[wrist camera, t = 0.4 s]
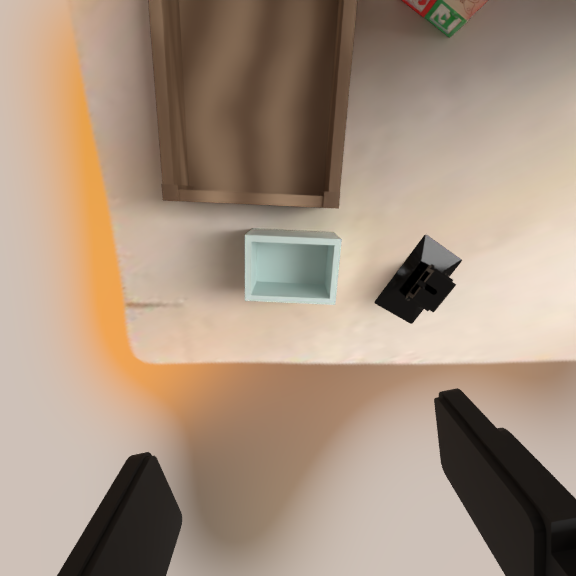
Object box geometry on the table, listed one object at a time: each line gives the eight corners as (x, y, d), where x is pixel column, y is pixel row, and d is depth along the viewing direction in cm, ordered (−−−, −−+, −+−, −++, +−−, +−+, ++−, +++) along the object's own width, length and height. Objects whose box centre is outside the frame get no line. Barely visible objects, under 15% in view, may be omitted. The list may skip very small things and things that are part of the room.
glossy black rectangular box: (426, 217, 33) (447, 221, 29) (476, 251, 34) (504, 260, 30) (361, 307, 36) (371, 322, 32) (408, 335, 37) (424, 354, 33)
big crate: (351, -31, 26) (365, -83, 21) (331, 206, 32) (338, 208, 27) (168, -39, 26) (139, -94, 21) (182, 199, 32) (162, 200, 27)
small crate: (333, 232, 33) (341, 239, 28) (328, 288, 35) (335, 304, 30) (252, 228, 33) (244, 234, 28) (251, 284, 35) (244, 300, 30)
